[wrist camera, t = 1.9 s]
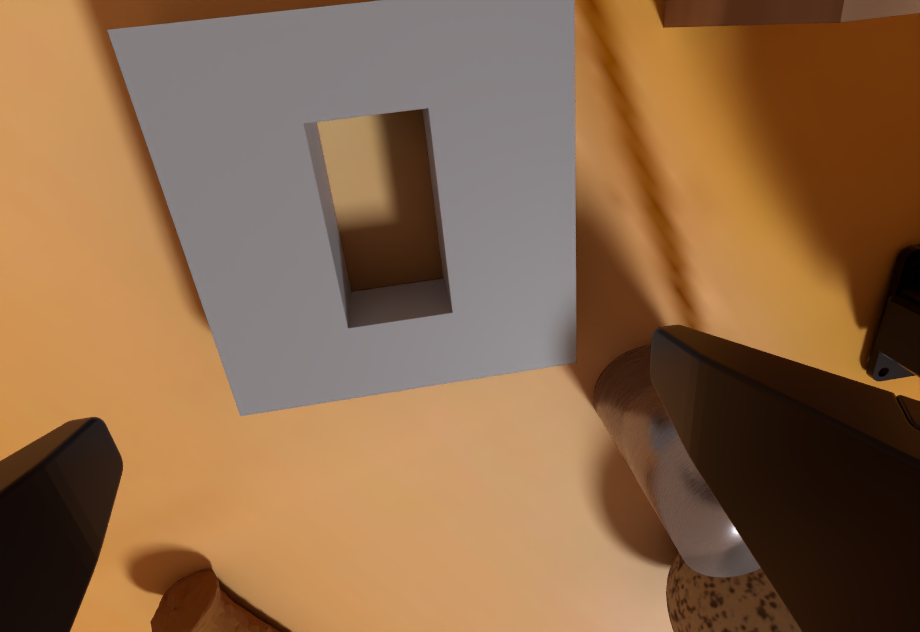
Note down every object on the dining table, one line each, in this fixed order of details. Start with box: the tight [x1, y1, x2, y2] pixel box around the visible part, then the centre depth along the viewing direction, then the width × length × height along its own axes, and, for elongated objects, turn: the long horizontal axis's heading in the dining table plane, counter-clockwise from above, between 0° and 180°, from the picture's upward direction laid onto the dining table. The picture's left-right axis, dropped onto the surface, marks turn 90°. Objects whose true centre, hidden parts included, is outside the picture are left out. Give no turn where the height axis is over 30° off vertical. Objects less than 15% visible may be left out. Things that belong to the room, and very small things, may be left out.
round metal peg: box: [594, 346, 761, 577], centre depth 22 cm, size 4×4×8 cm
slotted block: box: [107, 0, 577, 416], centre depth 19 cm, size 12×12×3 cm
